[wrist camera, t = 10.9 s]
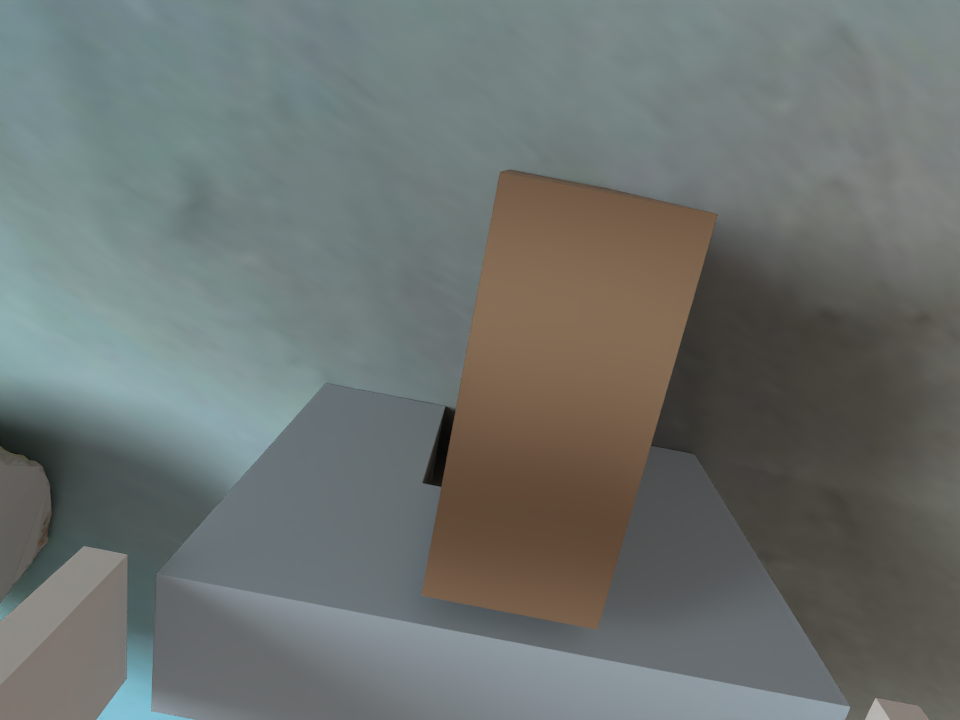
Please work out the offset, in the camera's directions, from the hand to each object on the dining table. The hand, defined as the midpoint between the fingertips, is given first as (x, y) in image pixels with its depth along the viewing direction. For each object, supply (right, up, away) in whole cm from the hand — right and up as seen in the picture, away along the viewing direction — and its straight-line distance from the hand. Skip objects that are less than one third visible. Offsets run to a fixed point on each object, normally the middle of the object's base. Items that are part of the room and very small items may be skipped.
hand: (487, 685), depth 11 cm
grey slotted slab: (+1, +2, +10) cm, 10 cm away
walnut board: (+1, +2, +10) cm, 10 cm away
